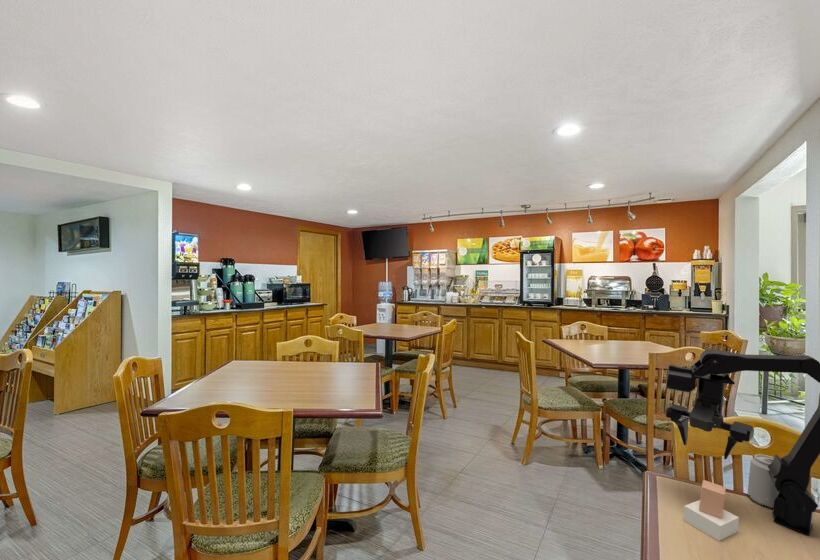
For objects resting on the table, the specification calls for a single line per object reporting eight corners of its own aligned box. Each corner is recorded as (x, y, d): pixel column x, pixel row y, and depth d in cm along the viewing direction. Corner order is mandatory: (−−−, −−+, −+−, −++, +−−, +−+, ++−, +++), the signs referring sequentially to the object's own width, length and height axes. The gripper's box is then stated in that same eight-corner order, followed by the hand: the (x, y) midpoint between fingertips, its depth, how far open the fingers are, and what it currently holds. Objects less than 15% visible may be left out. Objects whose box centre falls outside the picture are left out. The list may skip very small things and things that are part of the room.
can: (791, 508, 107) (795, 465, 106) (769, 511, 105) (773, 467, 105) (760, 492, 114) (764, 451, 114) (740, 494, 113) (744, 453, 112)
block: (723, 510, 99) (725, 487, 99) (722, 518, 96) (724, 494, 95) (700, 502, 102) (703, 479, 102) (699, 510, 99) (701, 486, 98)
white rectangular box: (737, 533, 97) (739, 517, 97) (718, 542, 93) (720, 526, 93) (701, 513, 104) (702, 498, 104) (683, 521, 101) (684, 505, 100)
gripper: (660, 391, 111) (656, 446, 112) (747, 414, 96) (740, 476, 97) (674, 384, 118) (670, 435, 119) (757, 404, 103) (751, 462, 105)
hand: (704, 451), depth 110 cm, fingers open, 9 cm apart
